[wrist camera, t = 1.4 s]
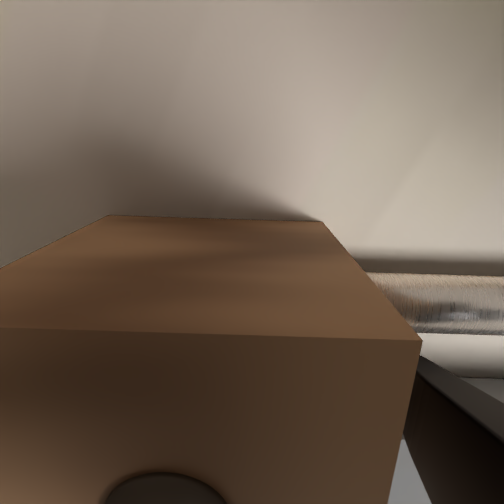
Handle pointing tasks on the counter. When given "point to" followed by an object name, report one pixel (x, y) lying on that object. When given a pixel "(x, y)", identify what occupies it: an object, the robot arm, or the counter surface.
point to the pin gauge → (446, 301)
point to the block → (199, 367)
